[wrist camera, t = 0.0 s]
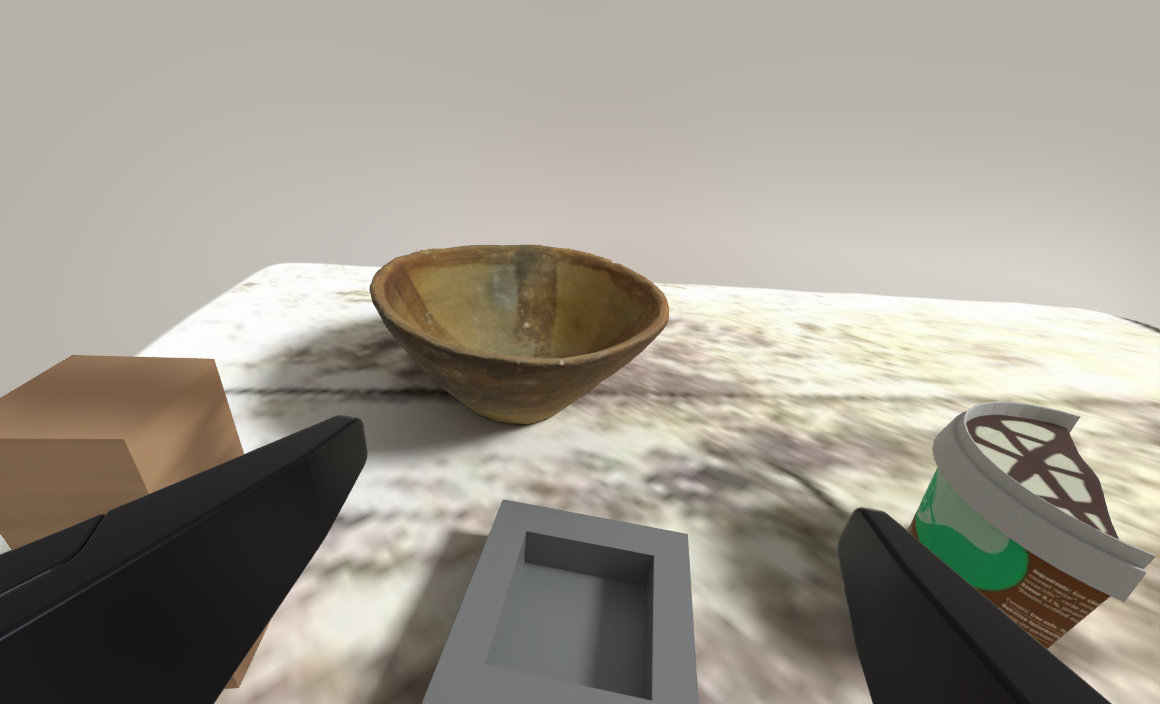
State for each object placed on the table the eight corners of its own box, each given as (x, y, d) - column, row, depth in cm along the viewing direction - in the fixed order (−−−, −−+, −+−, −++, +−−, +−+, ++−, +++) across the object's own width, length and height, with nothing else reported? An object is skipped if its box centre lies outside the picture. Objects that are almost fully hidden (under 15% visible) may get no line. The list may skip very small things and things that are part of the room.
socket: (684, 805, 17) (702, 769, 16) (426, 744, 18) (421, 704, 17) (676, 571, 26) (687, 534, 25) (502, 537, 27) (503, 499, 26)
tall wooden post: (238, 687, 19) (123, 438, 13) (115, 695, 19) (-67, 438, 13) (285, 587, 23) (214, 358, 17) (184, 590, 23) (72, 355, 16)
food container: (881, 491, 34) (946, 372, 29) (986, 536, 31) (1077, 411, 26) (863, 629, 24) (956, 485, 20) (1011, 710, 22) (1161, 566, 17)
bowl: (642, 345, 50) (658, 254, 45) (653, 509, 30) (685, 376, 25) (439, 320, 51) (435, 227, 46) (319, 464, 31) (288, 326, 26)
